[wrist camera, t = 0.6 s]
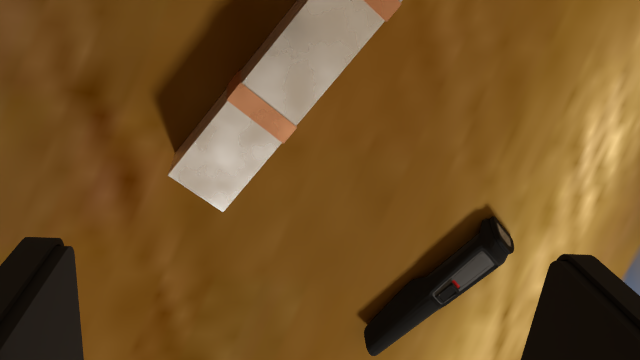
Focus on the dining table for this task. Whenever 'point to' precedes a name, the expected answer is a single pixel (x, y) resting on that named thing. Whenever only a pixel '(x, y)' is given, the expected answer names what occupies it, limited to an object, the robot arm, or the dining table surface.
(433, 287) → the electric trimmer
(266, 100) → the white and orange bar
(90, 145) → the dining table surface
